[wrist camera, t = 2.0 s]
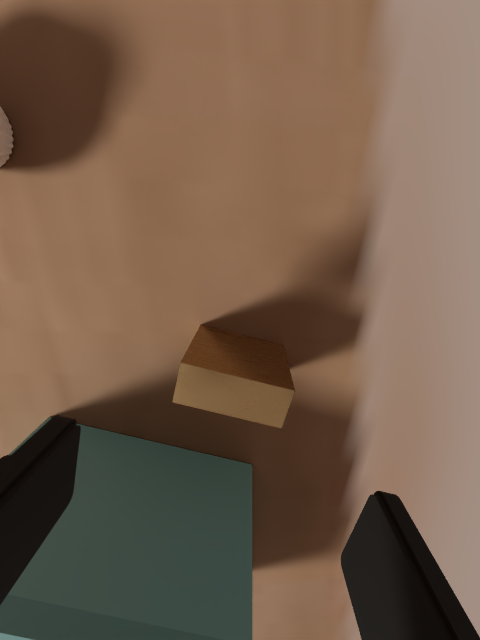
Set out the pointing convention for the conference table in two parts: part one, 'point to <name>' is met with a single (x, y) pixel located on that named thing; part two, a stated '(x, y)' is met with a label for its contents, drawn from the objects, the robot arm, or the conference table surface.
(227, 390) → the tan wooden brick
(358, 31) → the conference table surface
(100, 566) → the teal slotted box
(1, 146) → the white carved egg
